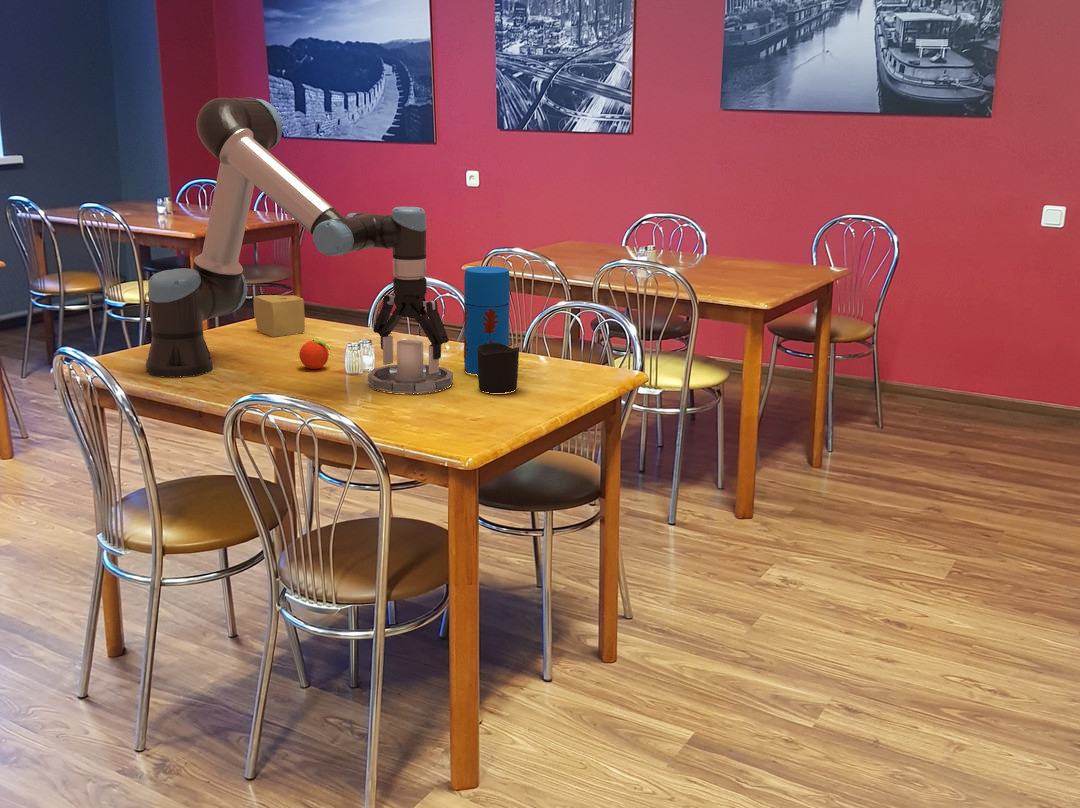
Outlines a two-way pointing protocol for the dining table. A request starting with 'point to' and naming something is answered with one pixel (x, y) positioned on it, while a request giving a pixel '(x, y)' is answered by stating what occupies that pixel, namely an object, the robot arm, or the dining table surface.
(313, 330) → the dining table surface
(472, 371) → the thermos
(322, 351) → the clementine
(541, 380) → the dining table surface
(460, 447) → the dining table surface
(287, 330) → the cheese
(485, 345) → the pen holder
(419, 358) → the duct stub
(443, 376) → the round tray
